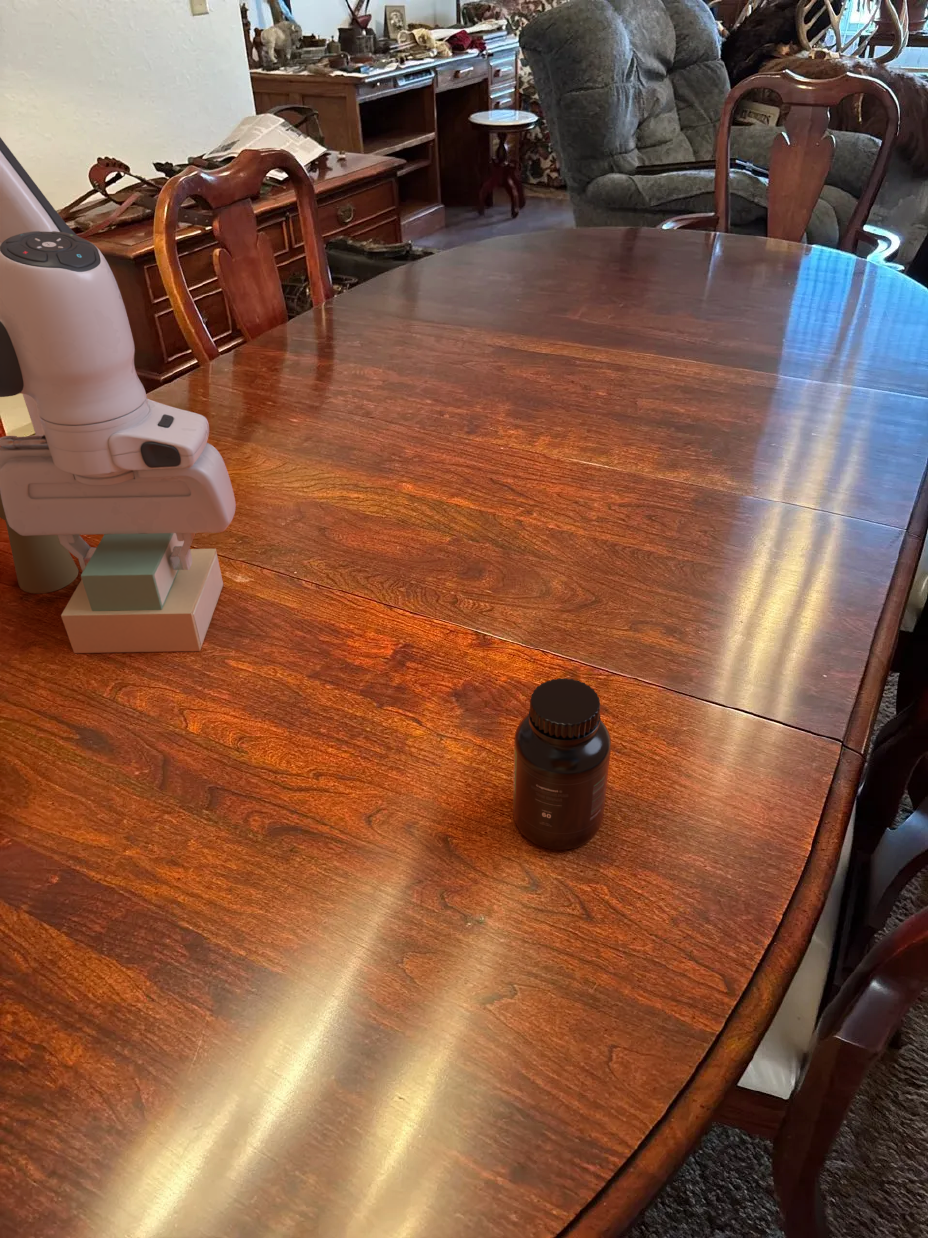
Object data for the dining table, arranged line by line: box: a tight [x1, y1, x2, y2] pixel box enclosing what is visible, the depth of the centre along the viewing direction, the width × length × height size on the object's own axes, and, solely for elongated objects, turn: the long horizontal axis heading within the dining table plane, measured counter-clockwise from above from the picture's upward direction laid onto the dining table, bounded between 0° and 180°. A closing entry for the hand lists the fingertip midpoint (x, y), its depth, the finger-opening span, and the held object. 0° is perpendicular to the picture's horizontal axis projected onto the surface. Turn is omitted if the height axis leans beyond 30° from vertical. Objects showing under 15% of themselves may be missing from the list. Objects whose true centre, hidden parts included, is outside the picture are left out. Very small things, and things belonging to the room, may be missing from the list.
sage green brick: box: [80, 533, 184, 611], centre depth 88 cm, size 7×10×4 cm, turn 0°
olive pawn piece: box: [0, 493, 79, 594], centre depth 94 cm, size 6×6×11 cm
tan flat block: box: [60, 548, 224, 654], centre depth 90 cm, size 12×11×4 cm
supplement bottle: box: [512, 677, 612, 851], centre depth 67 cm, size 7×7×12 cm
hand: (138, 567), depth 88 cm, fingers open, 7 cm apart
